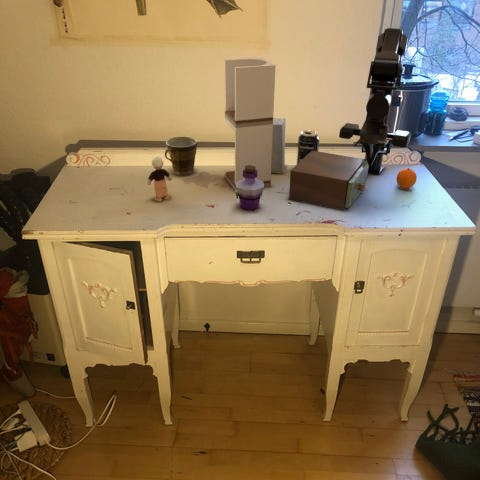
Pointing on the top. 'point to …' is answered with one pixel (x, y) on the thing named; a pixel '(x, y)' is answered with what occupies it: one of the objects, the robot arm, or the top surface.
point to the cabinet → (323, 179)
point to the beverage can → (307, 144)
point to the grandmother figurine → (159, 179)
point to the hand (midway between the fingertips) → (369, 165)
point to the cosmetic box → (278, 146)
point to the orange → (406, 178)
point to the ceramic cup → (182, 154)
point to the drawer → (356, 184)
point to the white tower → (250, 115)
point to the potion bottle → (249, 189)
